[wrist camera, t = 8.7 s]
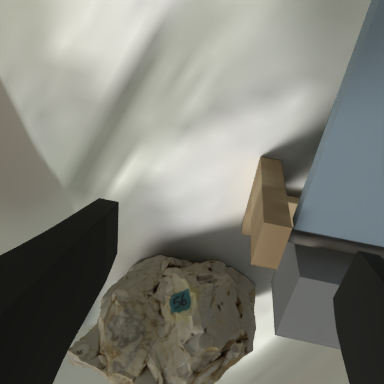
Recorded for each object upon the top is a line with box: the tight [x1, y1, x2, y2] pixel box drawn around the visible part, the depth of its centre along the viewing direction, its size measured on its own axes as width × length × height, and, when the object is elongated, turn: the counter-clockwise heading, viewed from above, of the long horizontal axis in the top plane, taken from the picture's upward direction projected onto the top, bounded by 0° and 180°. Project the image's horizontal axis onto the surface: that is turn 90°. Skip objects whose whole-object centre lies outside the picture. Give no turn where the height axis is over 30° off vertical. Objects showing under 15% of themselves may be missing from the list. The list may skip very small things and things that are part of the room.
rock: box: [67, 255, 256, 384], centre depth 23 cm, size 12×7×10 cm, turn 103°
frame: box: [241, 157, 384, 270], centre depth 18 cm, size 13×5×7 cm, turn 82°
